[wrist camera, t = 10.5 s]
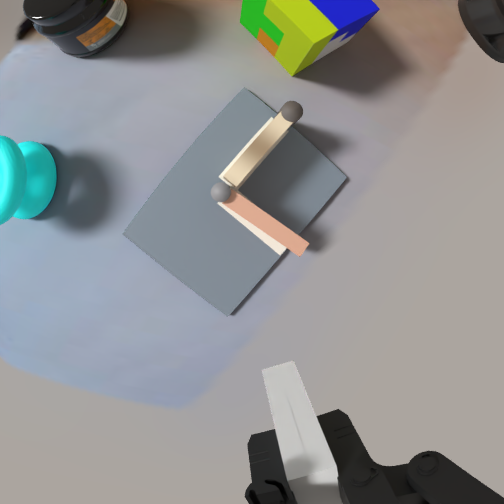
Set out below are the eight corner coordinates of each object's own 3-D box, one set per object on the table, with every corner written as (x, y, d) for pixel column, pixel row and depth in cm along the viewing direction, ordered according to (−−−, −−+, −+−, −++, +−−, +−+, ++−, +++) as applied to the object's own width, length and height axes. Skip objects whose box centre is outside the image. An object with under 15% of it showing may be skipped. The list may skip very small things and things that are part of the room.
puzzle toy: (347, 42, 33) (379, 9, 23) (291, 76, 34) (313, 43, 24) (298, -8, 31) (316, -50, 21) (239, 22, 32) (245, -21, 22)
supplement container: (145, 23, 30) (121, -27, 19) (80, 74, 31) (35, 41, 19) (109, -14, 28) (83, -60, 16) (50, 33, 29) (9, -2, 17)
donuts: (-3, 115, 22) (30, 189, 24) (41, 127, 32) (73, 187, 34) (-50, 175, 22) (-21, 246, 24) (-4, 174, 32) (24, 232, 34)
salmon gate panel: (209, 193, 34) (206, 194, 28) (219, 180, 34) (218, 178, 28) (287, 246, 36) (300, 259, 30) (296, 233, 36) (311, 243, 30)
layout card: (243, 89, 33) (244, 87, 33) (344, 177, 37) (347, 177, 36) (124, 232, 36) (122, 234, 35) (227, 314, 39) (227, 317, 38)
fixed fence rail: (279, 112, 34) (291, 96, 27) (292, 123, 34) (307, 110, 28) (221, 176, 35) (221, 174, 28) (235, 188, 35) (238, 188, 29)
